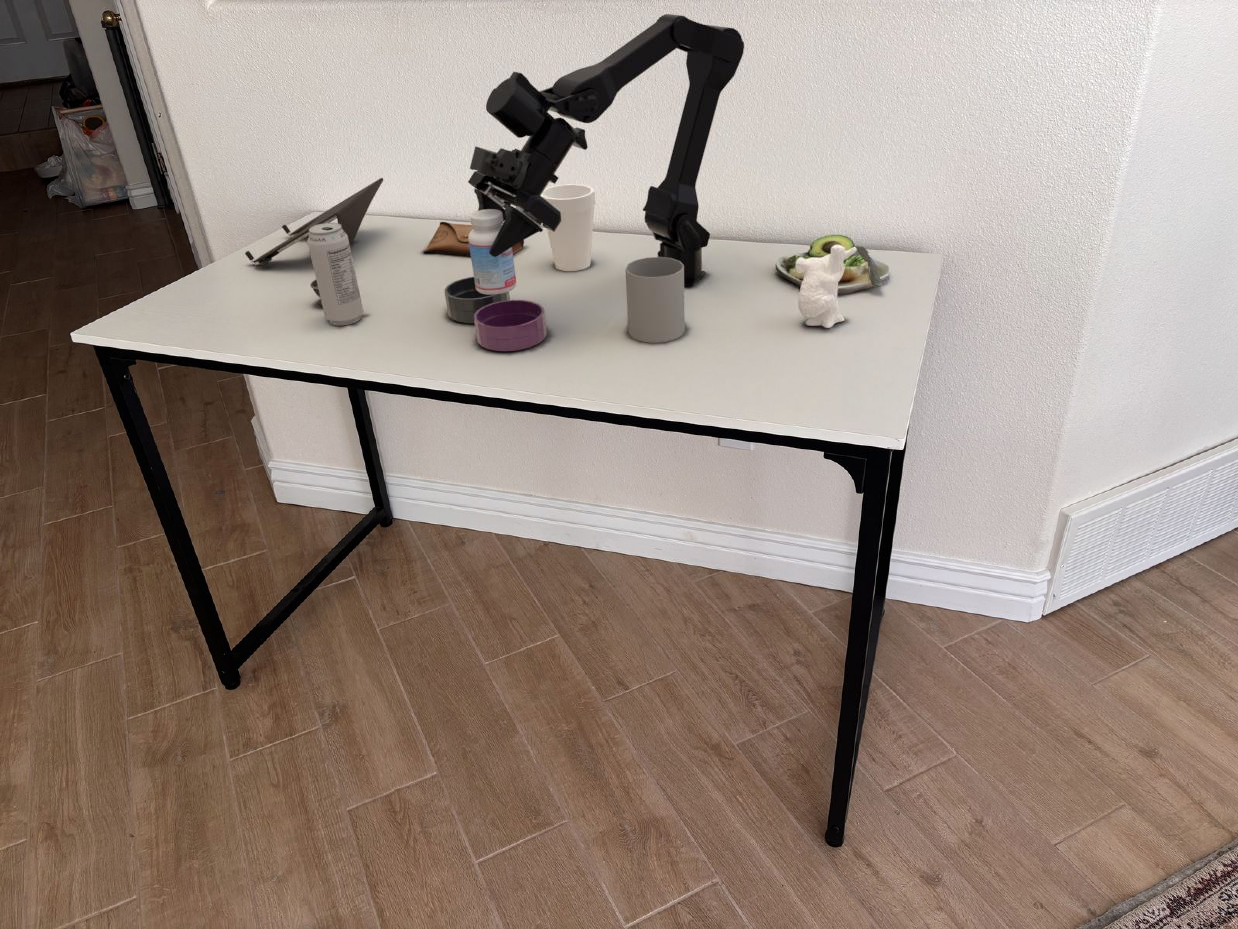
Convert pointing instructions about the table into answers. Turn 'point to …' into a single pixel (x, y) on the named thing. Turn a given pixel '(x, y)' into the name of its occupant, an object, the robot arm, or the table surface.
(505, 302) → the plum bowl
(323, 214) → the laptop stand
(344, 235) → the energy drink can
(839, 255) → the white figurine
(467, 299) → the charcoal bowl
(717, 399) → the table surface
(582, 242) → the foam cup
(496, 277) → the pill bottle
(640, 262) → the cup
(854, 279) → the salad plate
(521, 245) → the sunglasses case
